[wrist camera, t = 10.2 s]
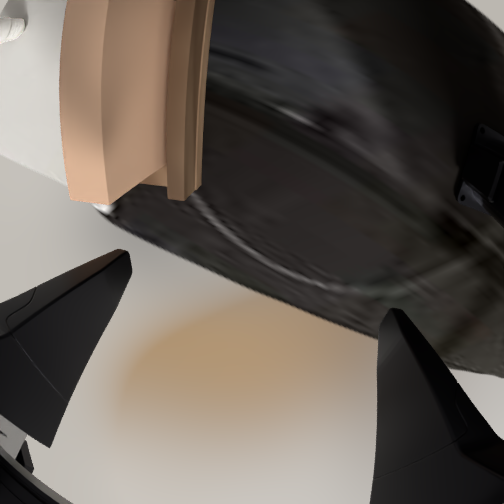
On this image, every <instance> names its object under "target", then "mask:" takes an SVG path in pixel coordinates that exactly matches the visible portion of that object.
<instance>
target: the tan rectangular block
mask: <svg viewBox="0 0 504 504" xmlns="http://www.w3.org/2000/svg"><path fill="white" fill-rule="evenodd" d="M175 7H176V1H174V0H67V5H66V11H65V18H64V25H63V33H62V42H61V55H60V77H59V100H60V123H61V136H62V147H63V156H64V163H65V171H66V177H67V183H68V189H69V194H70V199H71V200H75V201H82V202H90V203H98V204H106V205H110V204H111V203H113V202H114V201H115V200H117V199H118V198H119V197H121V196H122V195H123V194H125V193H126V192H127V191H129V190H130V189H131V188H133V187H134V186H136V185H137V184H138V183H140V182H141V181H143V180H144V179H146V178H147V177H148V176H150V175H151V174H153V173H154V172H156V171H157V170H159V169H160V168H162V167H163V166H165V165H166V164H167V97H168V78H169V63H170V51H171V40H172V31H173V22H174V14H175Z"/></svg>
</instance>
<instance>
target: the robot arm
mask: <svg viewBox="0 0 504 504" xmlns="http://www.w3.org/2000/svg"><path fill="white" fill-rule="evenodd" d="M480 128H482V132H480ZM462 195H463V197H462V199H460V197H461V196H462ZM455 197H456V200H457V201H458V202H459V203H460V204H462V205H465V206H468V207H470V208H473V209H475V210H478V211H481V212H483V213H486V214H488V215H490V216H492V217H493V218H494V219H495V220H496V221H497V222H498V223H499V224H500V225H501V226H502V227H503V228H504V136H502V135H501V134H499V133H498V132H496V131H494V130H493V129H491V128H489V127H487V126H486V125H484V124H481V123H477V124H476V126H475V129H474V134H473V138H472V142H471V146H470V148H469V152H468V155H467V159H466V162H465V166H464V169H463V172H462V177H461V181H460V184H459V187H458V190H457V192H456V196H455ZM131 275H132V266H131V260H130V254H129V253H128V251H126V250H122V249H117V250H114V251H112V252H109V253H107V254H105V255H103V256H100V257H98V258H96V259H94V260H91V261H89V262H87V263H85V264H83V265H81V266H78V267H76V268H74V269H72V270H70V271H67V272H65V273H63V274H61V275H59V276H57V277H55V278H53V279H51V280H49V281H47V282H45V283H42V284H40V285H38V286H37V287H34V288H32V289H30V290H28V291H27V292H24V293H22V294H20V295H18V296H16V297H14V298H11V299H9V300H7V301H5V302H2V303H0V504H72V503H71V502H70V501H68V500H66V499H65V498H63V497H62V496H60V495H59V494H58V493H56V492H55V491H53V490H52V489H51V488H49V487H48V486H46V485H45V484H44V483H42V482H41V481H40V480H39V479H37V478H36V477H35V476H34V475H32V472H33V470H34V467H33V463H32V460H31V457H30V453H29V449H28V445H27V441H26V440H25V438H26V436H27V434H28V435H29V436H31V437H32V438H34V439H35V440H37V441H39V442H40V443H42V444H43V445H45V446H47V447H48V448H50V447H51V445H52V442H53V440H54V437H55V435H56V432H57V429H58V427H59V424H60V422H61V419H62V417H63V415H64V413H65V410H66V408H67V405H68V403H69V401H70V398H71V396H72V394H73V392H74V390H75V388H76V385H77V383H78V381H79V379H80V377H81V375H82V373H83V371H84V369H85V366H86V365H87V363H88V361H89V359H90V357H91V355H92V353H93V351H94V349H95V347H96V345H97V343H98V341H99V339H100V337H101V336H102V334H103V332H104V330H105V328H106V327H107V325H108V323H109V321H110V319H111V318H112V316H113V314H114V312H115V310H116V308H117V306H118V304H119V302H120V299H121V297H122V295H123V293H124V291H125V288H126V286H127V284H128V282H129V279H130V278H131ZM370 504H504V440H503V439H501V438H500V437H499V436H498V435H497V434H496V433H495V432H494V431H493V429H492V428H491V427H490V425H489V424H488V423H487V421H486V420H485V419H484V417H483V416H482V415H481V413H480V412H479V411H478V410H477V408H476V407H475V405H474V404H473V403H472V402H471V400H470V399H469V397H468V396H467V394H466V393H465V392H464V390H463V389H462V387H461V386H460V384H459V383H457V380H456V379H455V377H454V376H453V375H452V373H451V372H450V370H449V369H448V368H447V366H446V365H445V364H444V362H443V361H442V360H441V358H440V357H439V356H438V354H437V353H436V352H435V350H434V349H433V348H432V346H431V345H430V344H429V342H428V341H427V340H426V339H425V337H424V336H423V335H422V333H421V332H420V331H419V330H418V328H417V327H416V326H415V325H414V324H413V322H412V321H411V320H410V319H409V317H408V316H407V315H406V314H405V313H404V311H403V310H401V309H397V308H390V309H389V311H388V312H387V314H386V316H385V317H384V319H383V320H382V322H381V324H380V326H379V337H378V358H377V435H376V452H375V465H374V475H373V483H372V491H371V498H370Z"/></svg>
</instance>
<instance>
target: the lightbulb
mask: <svg viewBox="0 0 504 504" xmlns="http://www.w3.org/2000/svg"><path fill="white" fill-rule="evenodd" d="M24 24H25V22H24V20H23V19H21V18H10V17H1V16H0V44H2V43H3V42H6V41H10V40H15V39H17V38H18V37H19V36H20V35H21V34H22V32H23V31H24V29H25V25H24Z"/></svg>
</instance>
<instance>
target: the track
mask: <svg viewBox="0 0 504 504" xmlns="http://www.w3.org/2000/svg"><path fill="white" fill-rule="evenodd" d="M174 1H176V7H175V14H174V22H173V31H172V40H171V51H170V63H169V78H168V97H167V164H166V165H165V166H163V167H162V168H160V169H159V170H157V171H156V172H154V173H153V174H151V175H150V176H148V177H147V178H146V179H144V180H143V181H141V182H140V183H141V184H150V185H160V186H167V192H168V199H174V200H181V201H185V200H186V199H187V198H188V196H189V195H190V194H191V193H192V192H193V191H194V190H197V189H198V188H199V187H200V186H201V169H202V142H203V122H204V105H205V91H206V78H207V66H208V55H209V45H210V36H211V27H212V19H213V11H214V3H215V0H174Z"/></svg>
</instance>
